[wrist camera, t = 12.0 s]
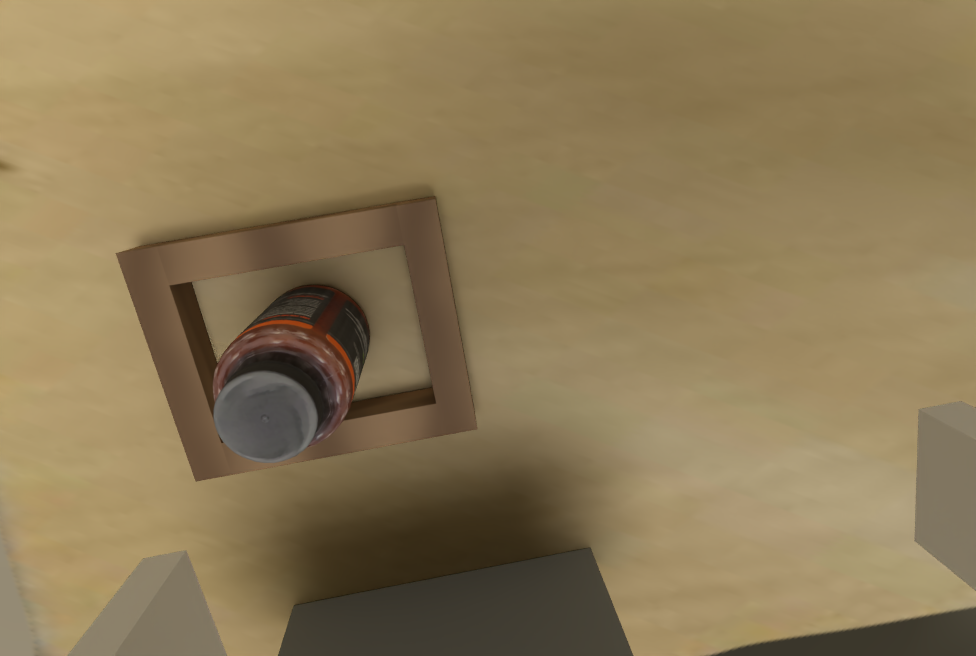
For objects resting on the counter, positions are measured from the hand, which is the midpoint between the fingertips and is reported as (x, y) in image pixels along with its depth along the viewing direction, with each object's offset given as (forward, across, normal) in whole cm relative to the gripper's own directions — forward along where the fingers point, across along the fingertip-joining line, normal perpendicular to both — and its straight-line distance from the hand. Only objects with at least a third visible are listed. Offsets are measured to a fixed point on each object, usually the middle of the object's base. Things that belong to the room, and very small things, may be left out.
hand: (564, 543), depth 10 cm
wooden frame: (+24, +10, +1) cm, 26 cm away
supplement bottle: (+24, +10, +1) cm, 26 cm away
